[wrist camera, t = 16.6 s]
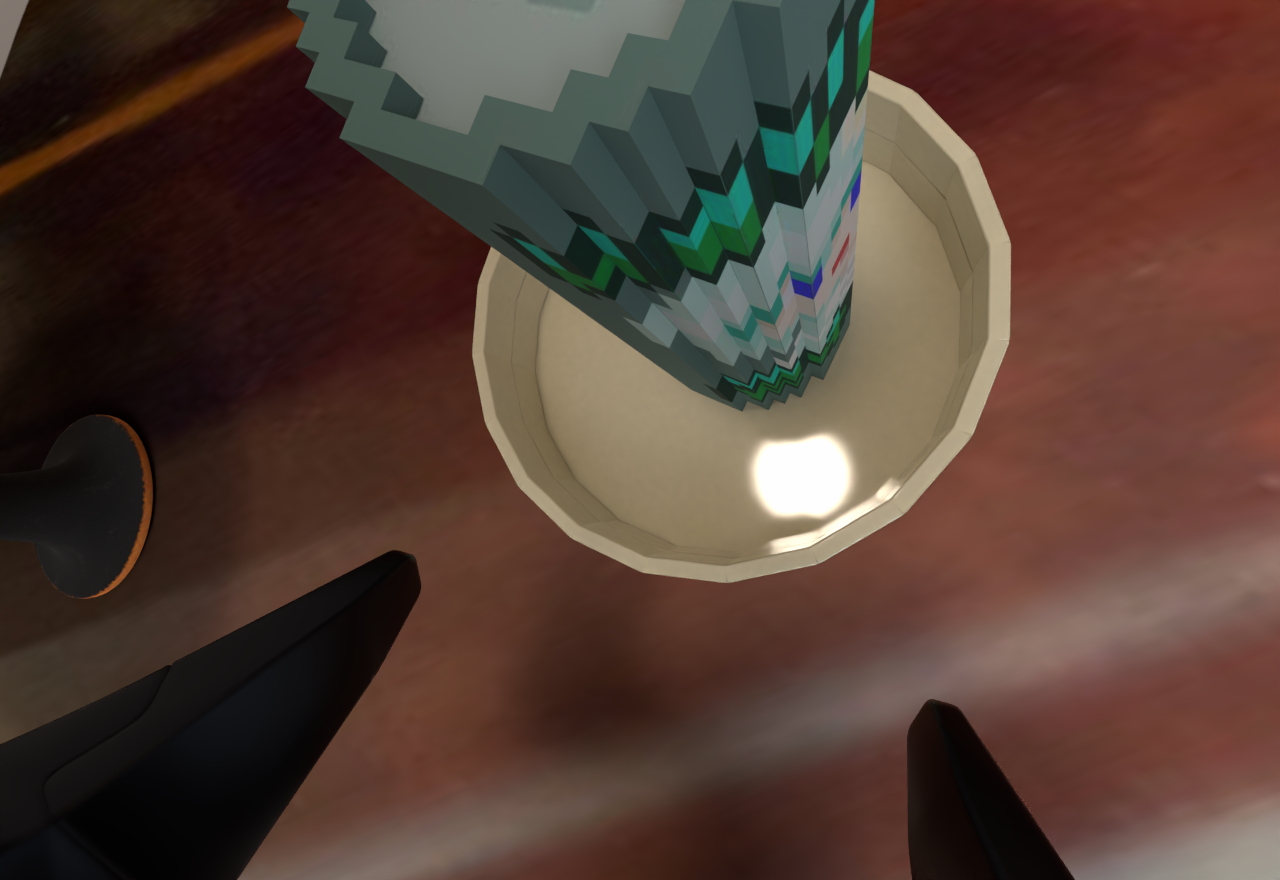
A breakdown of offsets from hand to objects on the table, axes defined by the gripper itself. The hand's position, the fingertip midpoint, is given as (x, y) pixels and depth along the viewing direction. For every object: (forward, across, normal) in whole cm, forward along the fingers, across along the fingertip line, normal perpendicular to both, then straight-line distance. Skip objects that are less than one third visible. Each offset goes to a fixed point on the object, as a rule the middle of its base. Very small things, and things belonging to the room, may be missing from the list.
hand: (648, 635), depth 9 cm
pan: (+13, 0, 0) cm, 13 cm away
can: (+13, 0, -1) cm, 13 cm away
